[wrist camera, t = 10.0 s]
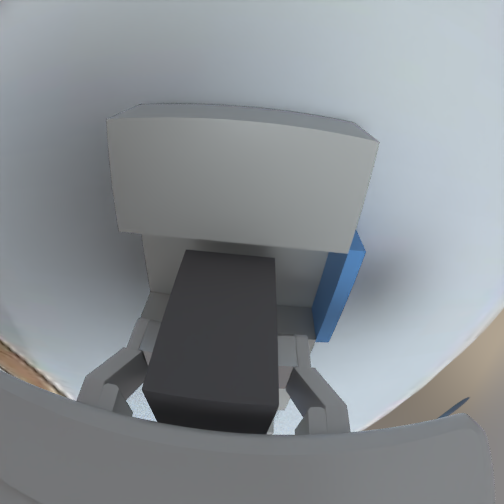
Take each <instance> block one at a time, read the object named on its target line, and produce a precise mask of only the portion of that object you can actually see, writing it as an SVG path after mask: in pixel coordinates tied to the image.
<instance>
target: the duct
mask: <svg viewBox="0 0 504 504" xmlns="http://www.w3.org/2000/svg"><path fill="white" fill-rule="evenodd" d="M106 124H107V140H108V152H109V163H110V173H111V182H112V190H113V197H114V204H115V211H116V218H117V224H118V230H119V232H124V233H135V234H141V235H142V242H143V249H144V256H145V262H146V269H147V275H148V280H149V286H150V295H149V297H148V300H147V302H146V305H145V307H144V310H143V312H142V315H141V318H143V319H149V320H155V321H161V322H162V319H163V316H164V313H165V309H166V306H167V303H168V300H169V297H170V294H171V291H172V288H173V285H174V282H175V279H176V276H177V273H178V270H179V268H180V265H181V262H182V259H183V256H184V253H185V251H186V250H197V251H207V252H218V253H228V254H239V255H249V256H260V257H271V258H275V274H276V301H277V332H278V333H281V334H294V335H295V334H296V335H307V337H308V344H309V352H310V353H311V351H312V348H313V346H314V343H315V342H329V340H330V338H331V336H332V334H333V331H334V329H335V327H336V325H337V322H338V320H339V318H340V316H341V313H342V311H343V309H344V306H345V304H346V301H347V299H348V297H349V294H350V292H351V289H352V287H353V284H354V282H355V279H356V277H357V274H358V272H359V269H360V266H361V264H362V261H363V258H364V256H365V253H366V251H365V249H364V246H363V244H362V242H361V240H360V237H359V235H358V233H357V231H356V227H357V224H358V221H359V217H360V214H361V211H362V207H363V204H364V200H365V197H366V193H367V190H368V186H369V182H370V179H371V175H372V171H373V167H374V163H375V159H376V155H377V151H378V147H379V143H380V142H379V141H378V140H376V139H375V138H374V137H372V136H371V135H370V134H369V133H367V132H366V131H365V130H363V129H362V128H361V127H359V126H358V125H357V124H355V123H354V122H349V121H345V120H340V119H334V118H329V117H323V116H317V115H311V114H305V113H298V112H291V111H284V110H275V109H267V108H257V107H246V106H232V105H215V104H140V105H137V106H135V107H133V108H130V109H128V110H126V111H124V112H121V113H119V114H117V115H115V116H113V117H110V118H108V119H106ZM289 400H290V396H289V395H288V393H287V392H286V390H285V389H280V388H279V407H278V409H277V410H285V408H286V406H287V404H288V402H289ZM267 434H268V435H272V434H273V421H272V423H271V425H270V427H269V430H268V432H267Z"/></svg>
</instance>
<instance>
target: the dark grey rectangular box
mask: <svg viewBox="0 0 504 504" xmlns="http://www.w3.org/2000/svg"><path fill="white" fill-rule="evenodd" d="M142 391H143V393H144V395H145V397H146V400H147V402H148V404H149V406H150V408H151V410H152V412H153V414H154V416H155V418H156V420H157V422H160V423H165V424H171V425H177V426H183V427H189V428H197V429H204V430H213V431H222V432H233V433H247V434H267V432H268V430H269V427H270V425H271V423H272V421H273V418H274V416H275V414H276V411H277V409H278V407H279V374H278V332H277V301H276V274H275V258H271V257H260V256H249V255H239V254H228V253H218V252H207V251H197V250H186V251H185V253H184V256H183V259H182V262H181V265H180V268H179V270H178V273H177V276H176V279H175V282H174V285H173V288H172V291H171V294H170V297H169V300H168V303H167V306H166V309H165V313H164V316H163V319H162V322H161V325H160V328H159V332H158V335H157V338H156V341H155V345H154V348H153V352H152V355H151V358H150V362H149V365H148V369H147V372H146V376H145V380H144V383H143V387H142Z"/></svg>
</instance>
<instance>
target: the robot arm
mask: <svg viewBox="0 0 504 504" xmlns="http://www.w3.org/2000/svg"><path fill="white" fill-rule="evenodd" d="M160 325H161V321H155V320H149V319H143V318H139V319H138V320H137V321H136V324H135V326H134V329H133V332H132V334H131V337H130V340H129V343H128V345H127V348H124V347H123V348H122V349H121V350H120V351H118V352H117V353H116V354H114V355H113V356H112V357H110V358H109V359H108V360H106V361H105V362H104V363H103V364H101V365H100V366H99V367H97V368H96V369H95V370H93V371H92V372H91V373H89V374H88V375H87V376H86V377H85V380H84V382H83V385H82V387H81V390H80V393H79V395H78V398H77V401H75V400H72V399H69V398H66V397H63V396H60V395H57V394H55V393H52V392H49V391H47V390H44V389H42V388H39V387H37V386H34V385H32V384H30V383H27V382H25V381H23V380H20V379H18V378H16V377H14V376H11V375H9V374H7V373H5V372H3V371H1V370H0V504H495V484H494V473H493V466H492V459H491V453H490V448H489V443H488V439H487V436H486V433H485V431H484V429H483V428H482V427H481V426H480V425H479V424H478V423H477V422H476V421H475V420H474V419H472V418H471V417H470V416H469V415H468V414H466V413H459V414H455V415H452V416H447V417H443V418H439V419H435V420H431V421H426V422H420V423H415V424H410V425H404V426H398V427H392V428H385V429H378V430H369V431H359V432H350V425H349V417H348V410H347V405H346V404H345V403H344V402H343V400H342V399H341V398H340V397H339V396H338V395H337V394H336V392H335V391H334V390H333V389H332V388H331V386H330V385H329V384H328V383H327V382H326V381H325V379H324V378H323V377H322V376H321V375H320V374H319V372H318V371H317V370H316V369H315V368H311V361H310V352H309V344H308V337H307V335H296V334H295V335H294V334H281V333H278V374H279V388H280V389H285V390H286V392H287V393H288V395H289V396H290V398H291V399H292V401H293V402H294V404H295V405H296V407H297V409H298V410H299V412H300V413H301V415H302V416H303V419H302V420H301V422H300V423H299V425H298V426H297V428H296V429H295V435H268V434H247V433H233V432H222V431H213V430H204V429H197V428H189V427H183V426H177V425H171V424H165V423H160V422H155V421H150V420H145V419H140V418H136V417H132V414H133V412H132V410H131V408H130V407H129V405H128V403H127V402H126V400H127V399H128V397H129V396H130V395H131V394H132V393H133V392H134V391H135V390H136V389H137V388H138V387H139V386H140V385H141V384H142V383H143V382H144V380H145V376H146V372H147V369H148V365H149V362H150V358H151V355H152V352H153V348H154V345H155V341H156V338H157V335H158V332H159V328H160Z"/></svg>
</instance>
